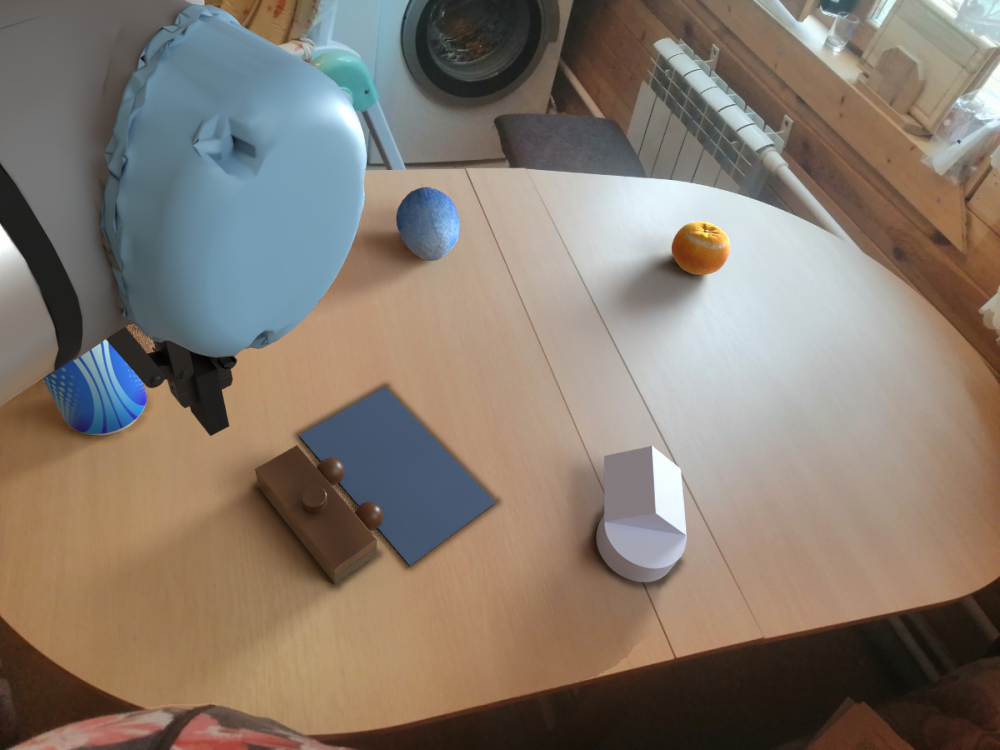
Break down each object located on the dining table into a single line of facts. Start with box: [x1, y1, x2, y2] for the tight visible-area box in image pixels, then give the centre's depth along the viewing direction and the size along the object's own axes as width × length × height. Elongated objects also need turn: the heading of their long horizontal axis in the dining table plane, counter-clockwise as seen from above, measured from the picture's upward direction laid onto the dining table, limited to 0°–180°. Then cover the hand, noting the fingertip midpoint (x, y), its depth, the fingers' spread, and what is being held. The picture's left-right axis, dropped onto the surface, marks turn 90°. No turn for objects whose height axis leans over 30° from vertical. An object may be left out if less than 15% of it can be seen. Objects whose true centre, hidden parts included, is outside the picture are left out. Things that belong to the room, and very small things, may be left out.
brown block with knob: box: [254, 444, 378, 585], centre depth 73 cm, size 5×14×5 cm, turn 43°
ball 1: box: [316, 458, 345, 487], centre depth 77 cm, size 3×3×3 cm
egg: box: [395, 184, 461, 262], centre depth 103 cm, size 9×9×15 cm
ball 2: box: [354, 502, 383, 532], centre depth 75 cm, size 3×3×3 cm
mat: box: [298, 386, 496, 567], centre depth 81 cm, size 12×20×1 cm, turn 43°
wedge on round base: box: [595, 445, 688, 583], centre depth 78 cm, size 9×7×13 cm
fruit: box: [671, 221, 731, 276], centre depth 110 cm, size 8×8×8 cm
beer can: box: [42, 340, 148, 436], centre depth 73 cm, size 8×8×16 cm
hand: (210, 418), depth 52 cm, fingers closed
